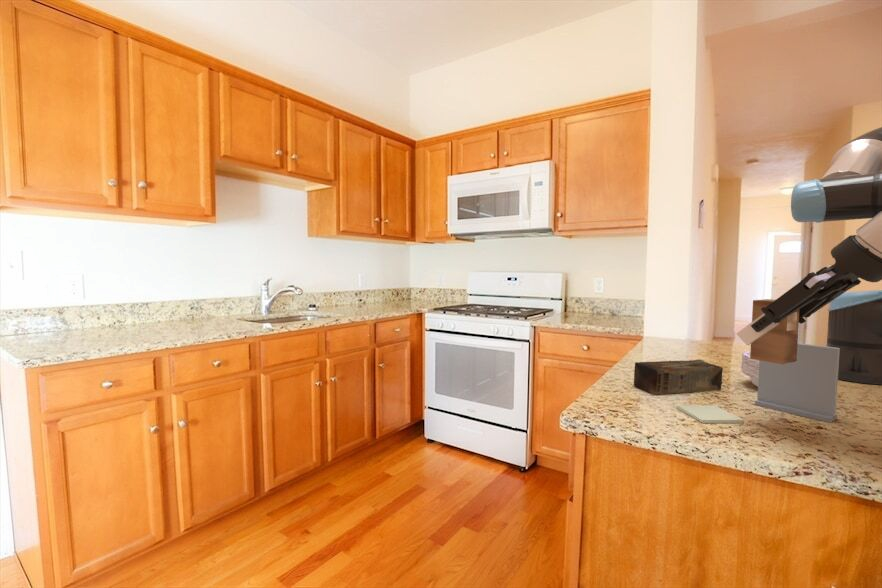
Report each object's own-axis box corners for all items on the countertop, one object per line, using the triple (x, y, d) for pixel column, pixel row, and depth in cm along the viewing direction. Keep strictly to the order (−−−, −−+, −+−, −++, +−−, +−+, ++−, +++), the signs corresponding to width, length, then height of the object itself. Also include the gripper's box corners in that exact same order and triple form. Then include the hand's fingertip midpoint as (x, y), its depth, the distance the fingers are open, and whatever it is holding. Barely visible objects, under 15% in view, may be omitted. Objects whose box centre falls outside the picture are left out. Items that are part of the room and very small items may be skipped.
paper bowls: (842, 399, 90) (844, 364, 89) (773, 399, 90) (774, 364, 89) (785, 380, 105) (787, 350, 104) (726, 380, 105) (727, 350, 105)
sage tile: (714, 408, 84) (714, 405, 84) (743, 422, 76) (744, 419, 76) (676, 408, 84) (676, 405, 84) (702, 423, 76) (702, 420, 76)
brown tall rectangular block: (764, 355, 78) (767, 299, 77) (796, 361, 73) (800, 301, 72) (750, 358, 76) (753, 300, 75) (782, 364, 71) (785, 302, 70)
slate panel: (754, 404, 86) (758, 340, 85) (762, 401, 88) (765, 338, 87) (830, 422, 76) (835, 349, 75) (837, 418, 78) (841, 347, 77)
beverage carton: (724, 391, 96) (725, 364, 96) (654, 397, 92) (655, 368, 92) (696, 382, 104) (697, 356, 104) (631, 386, 100) (632, 360, 100)
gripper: (875, 266, 55) (738, 359, 71) (924, 265, 63) (791, 349, 79) (827, 230, 60) (708, 325, 76) (879, 234, 68) (761, 319, 84)
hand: (751, 337), depth 77 cm, fingers closed on brown tall rectangular block, 5 cm apart
